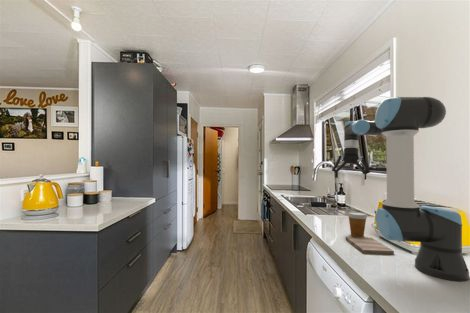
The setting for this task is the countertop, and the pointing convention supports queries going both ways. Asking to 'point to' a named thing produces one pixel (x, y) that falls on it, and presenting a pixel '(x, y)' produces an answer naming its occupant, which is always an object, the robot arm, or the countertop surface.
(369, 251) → the walnut board
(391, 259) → the countertop surface
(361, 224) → the disposable coffee cup
